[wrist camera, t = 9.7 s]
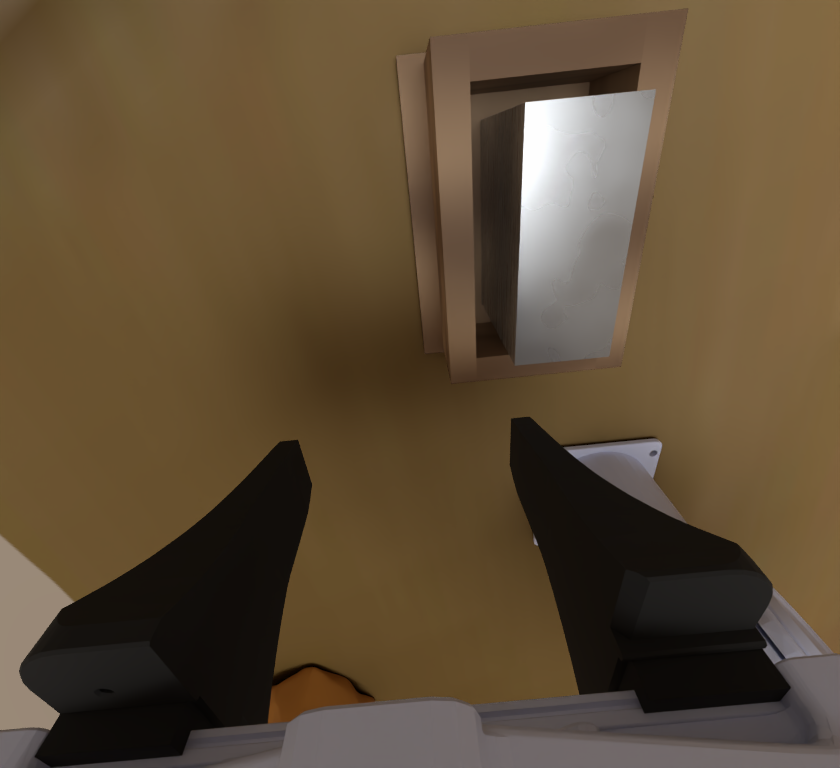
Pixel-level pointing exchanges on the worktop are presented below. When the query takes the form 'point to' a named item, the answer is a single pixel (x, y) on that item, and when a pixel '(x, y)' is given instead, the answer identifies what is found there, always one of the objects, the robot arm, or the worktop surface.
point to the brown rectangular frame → (461, 159)
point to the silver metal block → (559, 220)
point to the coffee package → (311, 694)
